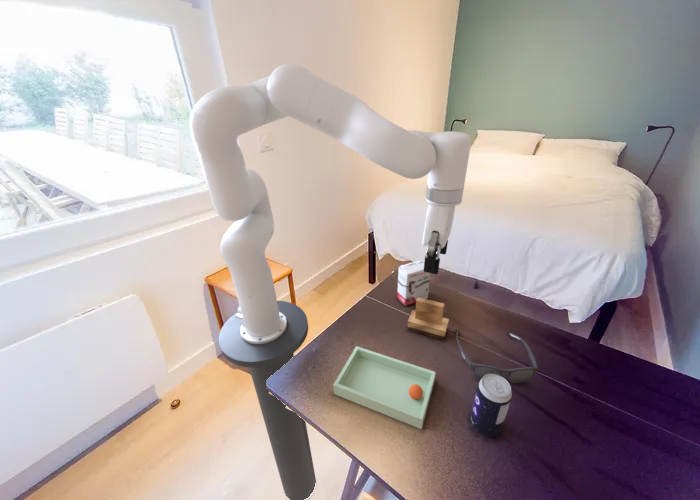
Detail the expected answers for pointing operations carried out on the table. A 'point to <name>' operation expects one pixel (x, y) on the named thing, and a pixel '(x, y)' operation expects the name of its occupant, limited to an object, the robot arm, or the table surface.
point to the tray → (385, 385)
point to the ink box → (412, 282)
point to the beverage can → (491, 404)
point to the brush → (428, 319)
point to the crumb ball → (415, 392)
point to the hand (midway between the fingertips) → (435, 262)
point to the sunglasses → (513, 374)
